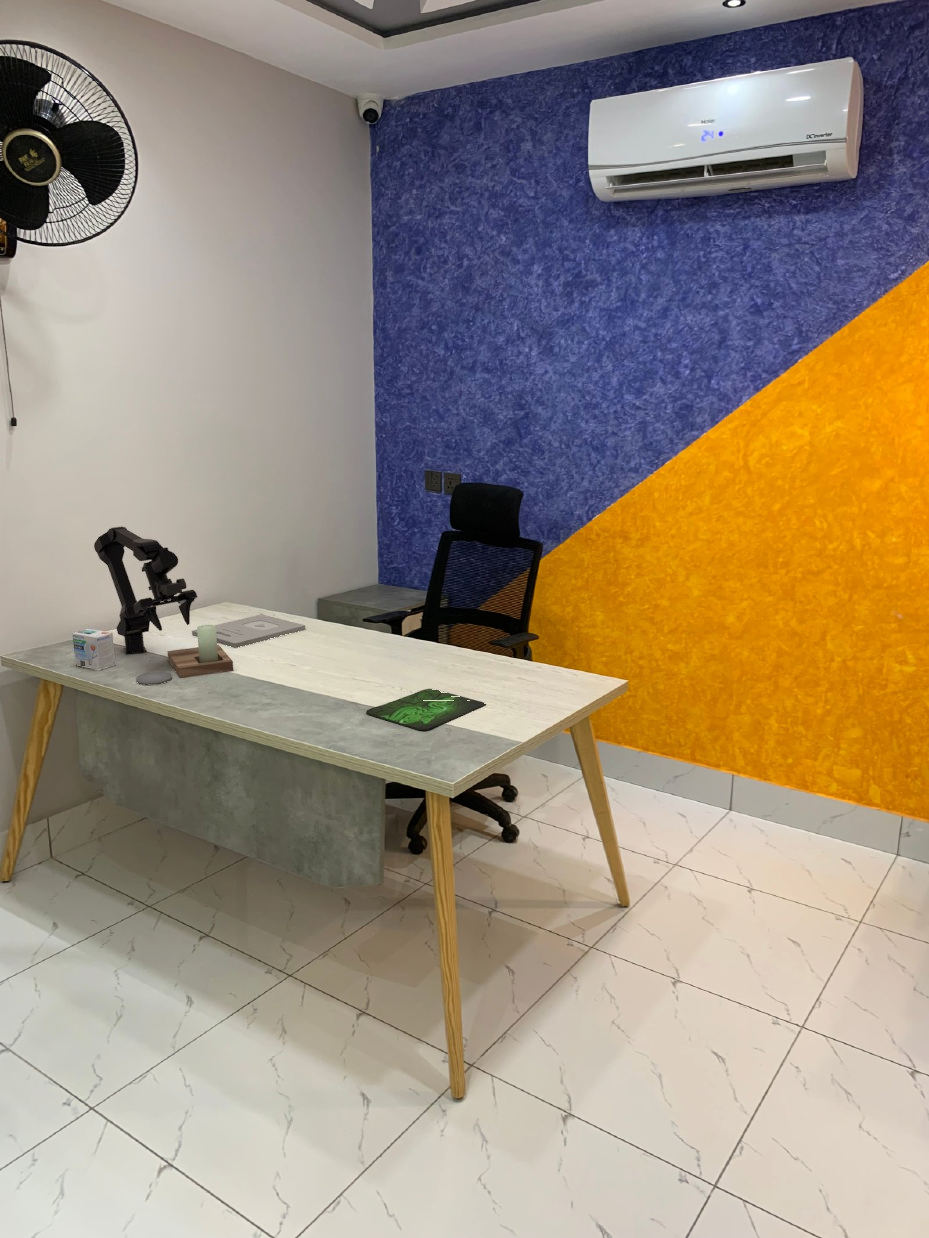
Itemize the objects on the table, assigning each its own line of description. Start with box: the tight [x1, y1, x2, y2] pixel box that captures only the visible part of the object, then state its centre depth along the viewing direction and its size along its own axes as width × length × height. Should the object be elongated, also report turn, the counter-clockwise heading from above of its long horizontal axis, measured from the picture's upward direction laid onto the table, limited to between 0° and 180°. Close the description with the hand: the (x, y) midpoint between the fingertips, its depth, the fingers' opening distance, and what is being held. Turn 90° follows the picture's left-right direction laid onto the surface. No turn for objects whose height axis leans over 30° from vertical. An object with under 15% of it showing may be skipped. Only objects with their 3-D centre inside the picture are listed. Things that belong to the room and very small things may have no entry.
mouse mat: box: [365, 688, 487, 732], centre depth 246 cm, size 27×22×1 cm
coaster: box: [135, 671, 173, 686], centre depth 270 cm, size 10×10×1 cm
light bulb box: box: [72, 628, 116, 670], centre depth 282 cm, size 11×7×11 cm, turn 62°
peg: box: [196, 624, 218, 663], centre depth 280 cm, size 6×6×13 cm
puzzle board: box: [166, 644, 234, 679], centre depth 284 cm, size 20×16×3 cm
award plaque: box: [191, 614, 306, 649], centre depth 321 cm, size 25×30×2 cm
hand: (174, 627), depth 278 cm, fingers open, 9 cm apart
